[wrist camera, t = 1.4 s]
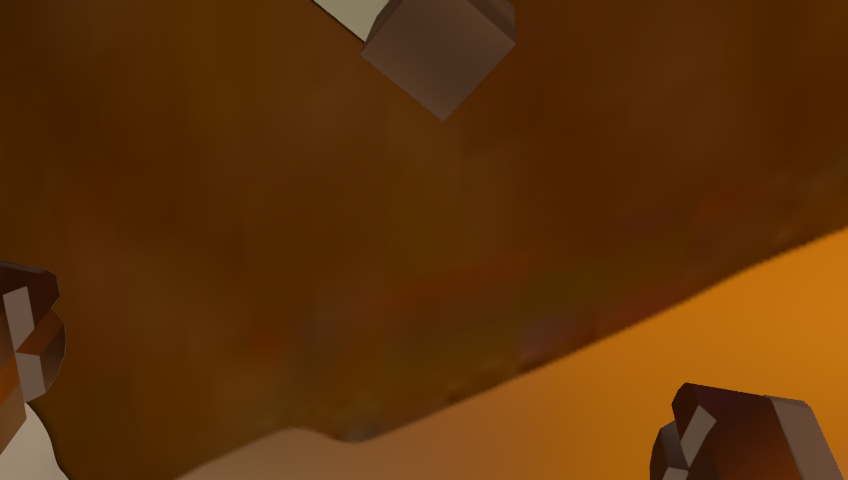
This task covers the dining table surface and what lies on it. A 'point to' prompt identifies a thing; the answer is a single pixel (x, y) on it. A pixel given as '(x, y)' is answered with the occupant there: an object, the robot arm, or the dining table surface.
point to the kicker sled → (440, 47)
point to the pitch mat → (354, 13)
